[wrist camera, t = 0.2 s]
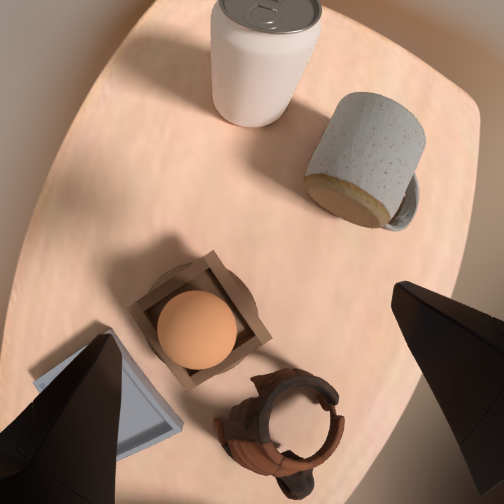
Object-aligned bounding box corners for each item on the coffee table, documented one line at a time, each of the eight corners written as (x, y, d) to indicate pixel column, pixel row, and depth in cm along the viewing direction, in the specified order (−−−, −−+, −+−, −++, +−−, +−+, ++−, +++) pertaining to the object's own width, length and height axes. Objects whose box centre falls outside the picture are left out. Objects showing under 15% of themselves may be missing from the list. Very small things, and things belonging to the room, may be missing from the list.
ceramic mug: (286, 193, 24) (316, 168, 17) (326, 116, 25) (362, 73, 17) (390, 255, 25) (446, 255, 18) (418, 178, 26) (472, 158, 18)
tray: (183, 422, 23) (181, 430, 22) (105, 459, 22) (101, 467, 21) (111, 328, 23) (105, 332, 21) (40, 377, 22) (32, 382, 20)
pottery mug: (189, 393, 24) (222, 396, 17) (278, 356, 29) (332, 342, 22) (242, 503, 21) (290, 534, 14) (320, 456, 26) (379, 465, 19)
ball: (248, 331, 21) (256, 351, 16) (191, 367, 20) (184, 396, 16) (209, 273, 21) (205, 277, 16) (151, 311, 20) (132, 326, 15)
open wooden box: (273, 327, 24) (282, 339, 20) (190, 380, 23) (185, 399, 20) (216, 242, 24) (215, 239, 20) (132, 298, 23) (117, 305, 19)
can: (201, 118, 24) (191, 22, 12) (225, 60, 24) (232, -39, 12) (277, 139, 24) (319, 54, 12) (294, 80, 25) (336, -12, 13)
